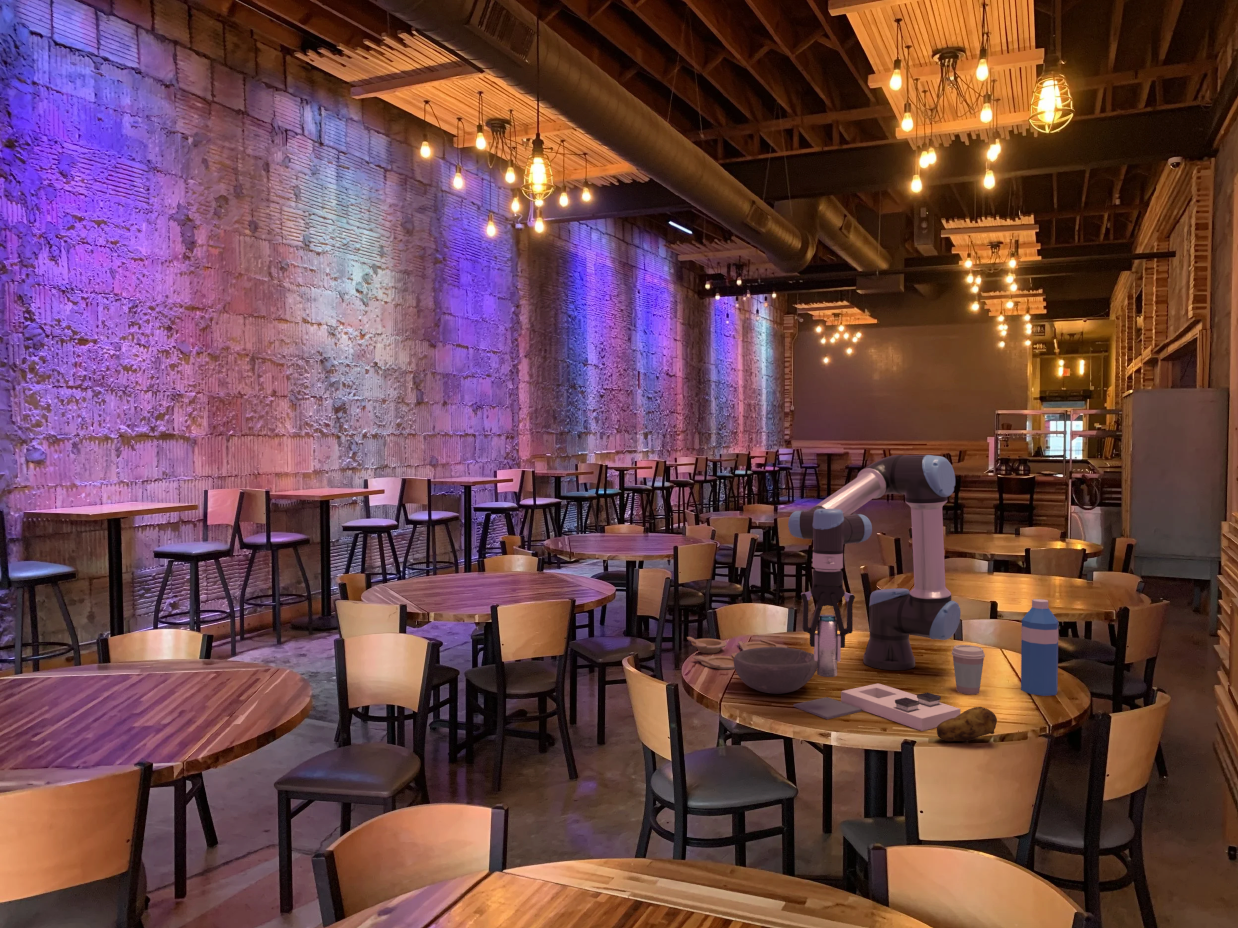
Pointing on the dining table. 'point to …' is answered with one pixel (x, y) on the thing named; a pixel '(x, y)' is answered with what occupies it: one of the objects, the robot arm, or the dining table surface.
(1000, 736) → the dining table surface
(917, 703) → the plunger near
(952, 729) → the potato
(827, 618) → the cylinder
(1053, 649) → the water bottle
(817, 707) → the mat
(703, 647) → the tableware set
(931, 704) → the dark topped block
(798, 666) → the bowl
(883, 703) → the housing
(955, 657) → the coffee cup
